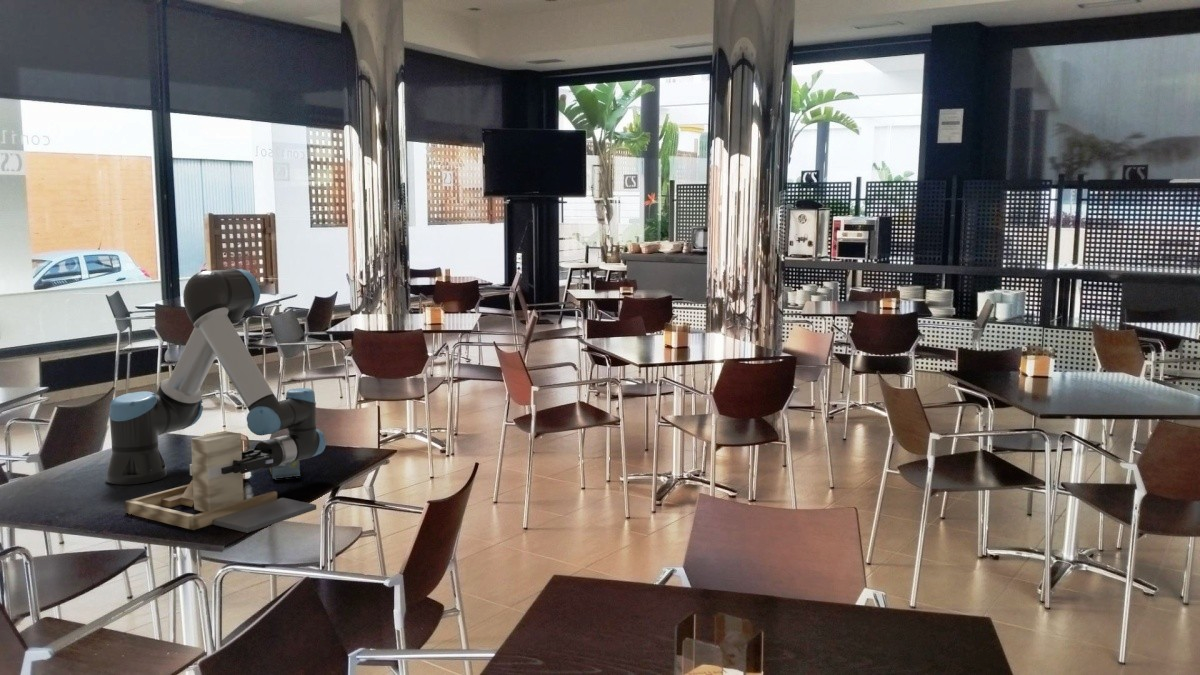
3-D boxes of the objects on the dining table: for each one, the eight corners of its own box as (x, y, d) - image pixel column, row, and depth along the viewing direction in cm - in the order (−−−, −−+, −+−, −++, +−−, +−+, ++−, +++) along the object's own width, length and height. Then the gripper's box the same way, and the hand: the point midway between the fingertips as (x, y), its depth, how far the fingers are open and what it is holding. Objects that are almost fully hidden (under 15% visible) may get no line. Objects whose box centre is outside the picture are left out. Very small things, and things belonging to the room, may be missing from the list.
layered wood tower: (194, 509, 235) (190, 438, 233) (227, 499, 244) (224, 431, 241) (210, 513, 232) (206, 441, 230) (243, 503, 241) (240, 433, 238)
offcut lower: (161, 507, 238) (160, 498, 238) (198, 496, 248) (197, 488, 247) (170, 509, 236) (169, 500, 236) (207, 498, 246) (207, 490, 246)
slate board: (212, 524, 223) (212, 519, 223) (282, 502, 241) (282, 497, 241) (247, 532, 217) (247, 527, 217) (316, 509, 235) (316, 504, 235)
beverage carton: (270, 480, 262) (270, 457, 261) (266, 464, 280) (266, 443, 279) (300, 478, 265) (300, 455, 264) (295, 462, 283) (294, 440, 282)
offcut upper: (179, 503, 236) (181, 497, 236) (190, 486, 245) (192, 479, 244) (191, 506, 237) (193, 500, 236) (202, 489, 245) (203, 482, 245)
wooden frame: (125, 513, 232) (125, 501, 231) (210, 489, 253) (210, 478, 252) (193, 530, 219) (193, 517, 219) (277, 503, 240) (276, 492, 240)
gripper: (300, 471, 248) (226, 492, 228) (250, 461, 257) (175, 481, 237) (299, 442, 247) (224, 461, 227) (249, 434, 256) (174, 452, 236)
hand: (199, 471), depth 232 cm, fingers closed on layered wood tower, 6 cm apart
